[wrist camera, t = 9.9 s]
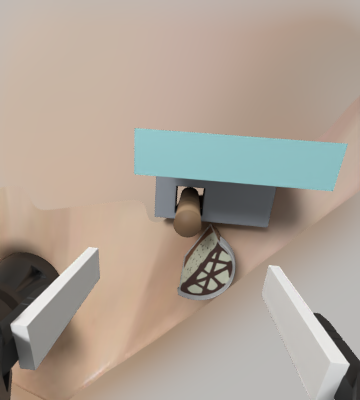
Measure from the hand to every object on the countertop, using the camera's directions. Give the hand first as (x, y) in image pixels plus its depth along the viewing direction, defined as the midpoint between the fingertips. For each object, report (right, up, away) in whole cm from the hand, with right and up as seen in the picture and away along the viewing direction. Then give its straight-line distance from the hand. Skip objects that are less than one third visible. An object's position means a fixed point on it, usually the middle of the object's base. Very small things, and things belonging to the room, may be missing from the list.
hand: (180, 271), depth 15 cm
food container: (+6, -5, +25) cm, 26 cm away
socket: (+6, +9, +21) cm, 24 cm away
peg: (+2, +6, +22) cm, 23 cm away
